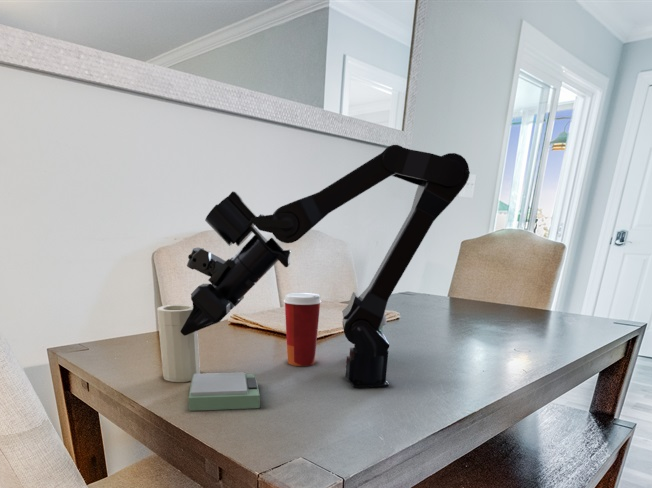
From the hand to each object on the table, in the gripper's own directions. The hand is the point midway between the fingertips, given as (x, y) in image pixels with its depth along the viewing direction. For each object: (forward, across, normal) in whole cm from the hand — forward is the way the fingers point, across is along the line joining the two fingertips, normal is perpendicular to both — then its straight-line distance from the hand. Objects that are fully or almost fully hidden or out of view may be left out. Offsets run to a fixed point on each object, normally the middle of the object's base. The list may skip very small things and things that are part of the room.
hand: (189, 328), depth 84 cm
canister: (+8, 0, +5) cm, 10 cm away
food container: (-18, -16, +31) cm, 39 cm away
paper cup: (-8, -12, +21) cm, 25 cm away
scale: (+1, +10, +12) cm, 16 cm away
